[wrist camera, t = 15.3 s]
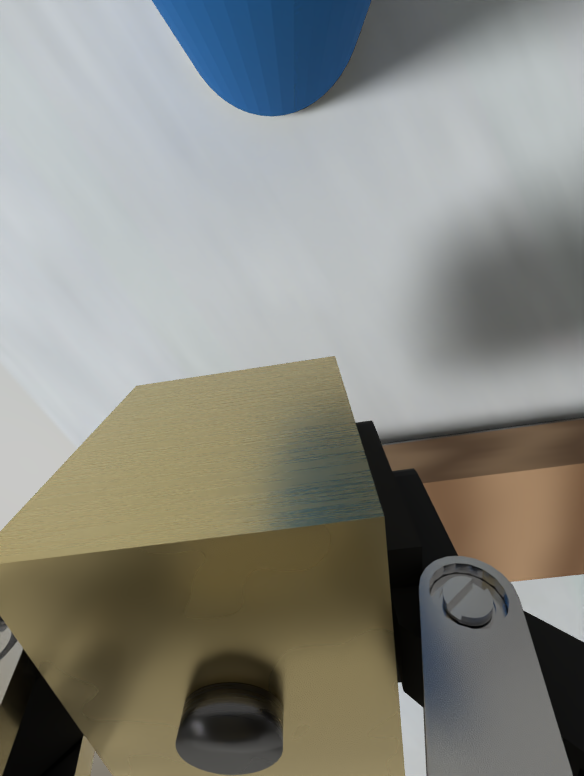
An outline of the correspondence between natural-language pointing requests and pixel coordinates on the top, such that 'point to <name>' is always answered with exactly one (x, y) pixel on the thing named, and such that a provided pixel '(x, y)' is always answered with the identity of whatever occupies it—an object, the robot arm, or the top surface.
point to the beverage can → (267, 47)
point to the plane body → (507, 494)
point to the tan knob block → (215, 582)
